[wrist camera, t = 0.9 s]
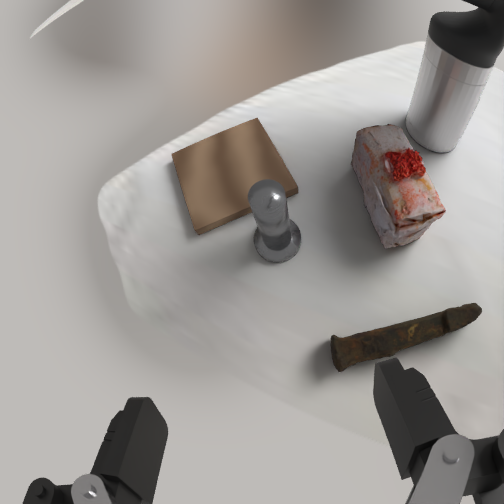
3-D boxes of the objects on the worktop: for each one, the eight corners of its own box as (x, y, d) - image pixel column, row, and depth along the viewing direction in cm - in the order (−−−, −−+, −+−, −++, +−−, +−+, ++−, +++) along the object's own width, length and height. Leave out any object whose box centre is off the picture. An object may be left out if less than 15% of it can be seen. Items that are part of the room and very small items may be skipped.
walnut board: (258, 124, 44) (257, 117, 43) (298, 193, 39) (297, 186, 38) (175, 159, 45) (171, 154, 43) (198, 235, 39) (194, 230, 38)
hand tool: (332, 371, 31) (336, 373, 27) (327, 337, 33) (331, 334, 28) (474, 334, 29) (493, 329, 25) (468, 303, 30) (487, 295, 26)
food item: (431, 241, 34) (463, 205, 25) (378, 259, 34) (400, 224, 25) (390, 156, 39) (404, 108, 30) (340, 167, 40) (345, 118, 30)
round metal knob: (289, 213, 38) (282, 161, 28) (308, 251, 36) (308, 208, 26) (248, 230, 38) (227, 183, 28) (265, 269, 36) (248, 233, 26)
